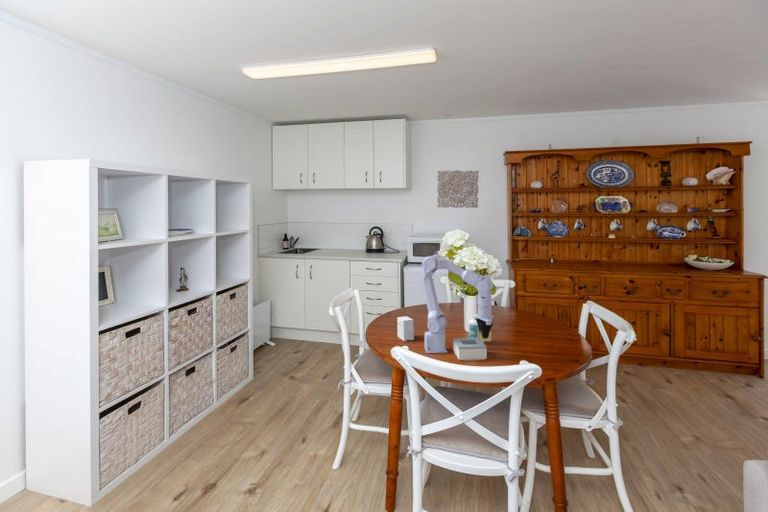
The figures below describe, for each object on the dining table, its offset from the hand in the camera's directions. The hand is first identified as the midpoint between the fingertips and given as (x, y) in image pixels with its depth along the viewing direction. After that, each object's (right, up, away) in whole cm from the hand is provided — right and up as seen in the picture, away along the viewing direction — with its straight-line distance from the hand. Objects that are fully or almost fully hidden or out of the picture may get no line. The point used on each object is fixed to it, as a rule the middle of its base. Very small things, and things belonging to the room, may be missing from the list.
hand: (483, 336), depth 183 cm
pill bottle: (+2, -7, +22) cm, 23 cm away
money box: (-6, -9, +3) cm, 11 cm away
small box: (-33, -7, +29) cm, 44 cm away
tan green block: (0, -2, 0) cm, 2 cm away
